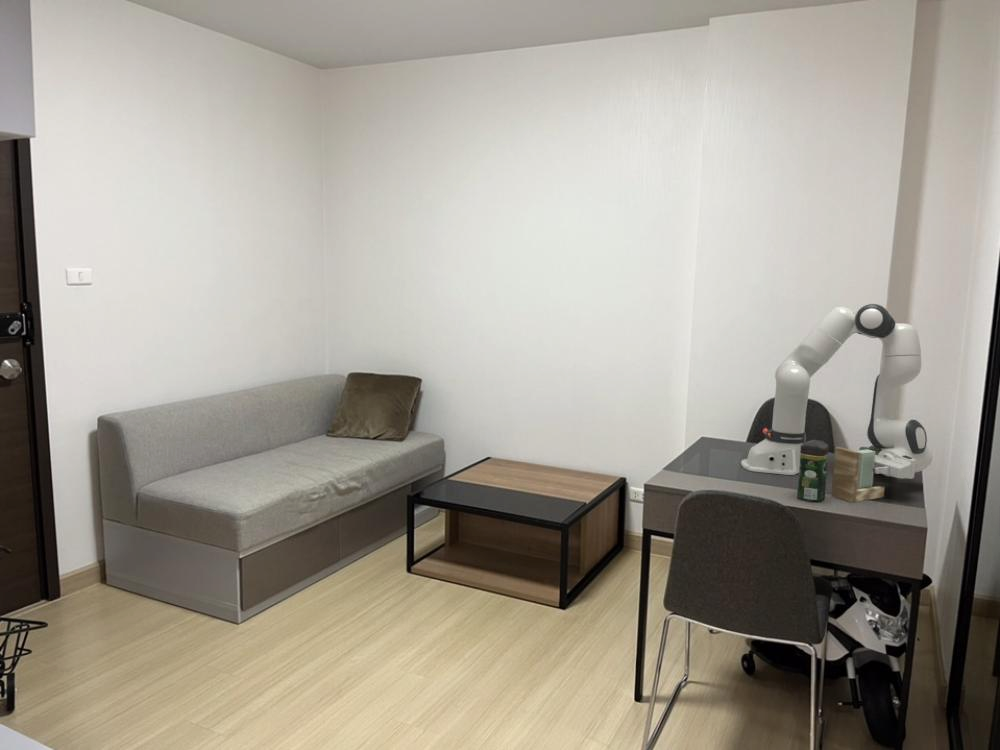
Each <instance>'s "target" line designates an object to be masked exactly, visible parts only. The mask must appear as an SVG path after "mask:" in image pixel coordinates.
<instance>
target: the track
mask: <svg viewBox="0 0 1000 750" xmlns="http://www.w3.org/2000/svg"><path fill="white" fill-rule="evenodd" d="M856 451H857V450H852V449H848V448H845V447H842V446H836V447H835V450H834V452H835V453H834V461H833V463H834V464H833V473H832V488H831V496H832V497H834V498H837V499H840V500H843V501H845V502H849V503H857V502H862V501H868V500H869V501H870V500H874V499H881V498H884V497H885V488H886V487H885V486H884V485H878V486H876V485H875V486H872V487H870V488H864V489H858V490H857V479H858V468H859V457H860V452H856Z"/></svg>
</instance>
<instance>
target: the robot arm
mask: <svg viewBox="0 0 1000 750" xmlns="http://www.w3.org/2000/svg"><path fill="white" fill-rule="evenodd" d="M854 334H858V335H861V336H865V337H867V338H872V339H879V340H880V341H881V343H882V346H883V366H882V368H881V371H880V373H879V374H878V375H877V376H876V378H875V383H874V389H873V396H872V405H871V415H870V420H869V424H868V427H867V431H866V433H867V434H866V436H867V439H868V442H870V444H872V445H871V446H875V447H876V448H878V449H882V450H883V451H881V452H880V453H879V454H878V455H875V463H874V467H873V471H872V472H873V473H874V474H876V475H877V474H878V475H879V474H882V475H883V476H886V477H893V478H896V479H908V480H911V479H912V480H913V479H914V478H915V473H918V472H919V473H920V472H921V471H924V470H926V469H927V468H928V467H930V466H931V465H932V462H933V454H932V451H931V450H930V449H929V448H928V447H927V442H928V440H927V439H928V438H927V437H928V436H927V432H926V429H925V427H924V426H923V424H921V422H920V421H918V420H917V419H890V411H891V409H890V408H891V400H892V397H893V393H894V392H895V391H896V390H897V389H899V388H901V387H902V386H904V385H907V384H909V383H911V382H913V380H915V379H916V378H917V377H918V376H919V374H920V373H921V370H922V353H921V352H922V349H921V345H920V343H921V342H920V338H919V335H918V331H917V328H916V327H915V326H913V325H911V324H909V323H904V322H903V323H901V322H900V323H898V322H896V321H895V319H894V318H893V316H892V314H891V313H890V311H889V310H888V309H887V308H886V307H884V306H883V305H880V304H876V303H868V304H866V305H863V306H862V307H860V308H859V309H858V311H855V310H852V309H851V308H848V307H847V306H842V305H841V306H836V307H834V308H832V309H831V310H830V311H829V312H828V313H827V314H825V315H824V316H823V317H822V319H820V320H819V321H818V322H817V324H816V325H815V326H814V327H813V328H812V329H811V331H810V332H809V333H808V334H807V335H806V336H805V338H804V339H803V340H802V341H801V342H800V343H799V344H798V345H797V346H796V348H794V349H793V351H792V352H790V354H788V355H787V357H786V358H785V359H784V360H783V361H782V362H781V363H780V364H779V365H778V366H777V368H776V370H775V374H774V376H775V377H774V378H775V381H776V382H775V394H774V401H773V402H774V403H773V412H772V423H771V424H772V425H771V428H770V429H768V428H767V427H765V428H763V430H762V433H763V434H764V435H765V438H764V439H762V440H761V441H760V442H758V443H756V444H754V445H753V446H752V447H750V449H749V450H748V451H749V452H748V455H747V458H745V459H742V460H741V462H740V466H741V467H742V468H743V469H745V470H747V471H750V472H755V473H767V474H777V475H786V476H795V475H797V474H799V467H800V450H801V445H802V444H803V443H805V442H806V437H807V435H806V432H805V429H806V428H805V427H806V417H807V416H806V415H807V407H808V400H809V394H810V384H811V378H812V376H813V375H815V373H817V372H818V371H819V370H820V369H821V368H823V366H824V365H826V364H827V363H828V362H829V361H830V359H831V358H832V357H833V356H834V355H835V354H836V353H837V352H838V350H839V349H840V348H841V347H842V346H843V345H844V344H845V342H846V341H847V340H848V339H849V338H850V337H851V336H853V335H854Z"/></svg>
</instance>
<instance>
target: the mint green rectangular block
mask: <svg viewBox="0 0 1000 750" xmlns="http://www.w3.org/2000/svg"><path fill="white" fill-rule="evenodd" d="M855 451H856V452H860V457H859V468H858V479H857V490H858V489H864V488H870V487H873V485H874V484H873V483H874V474H875V473H873V472H872V471H873V467H874V463H875V451H872V450H868V449H867V450H859V449H858V450H855Z"/></svg>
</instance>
